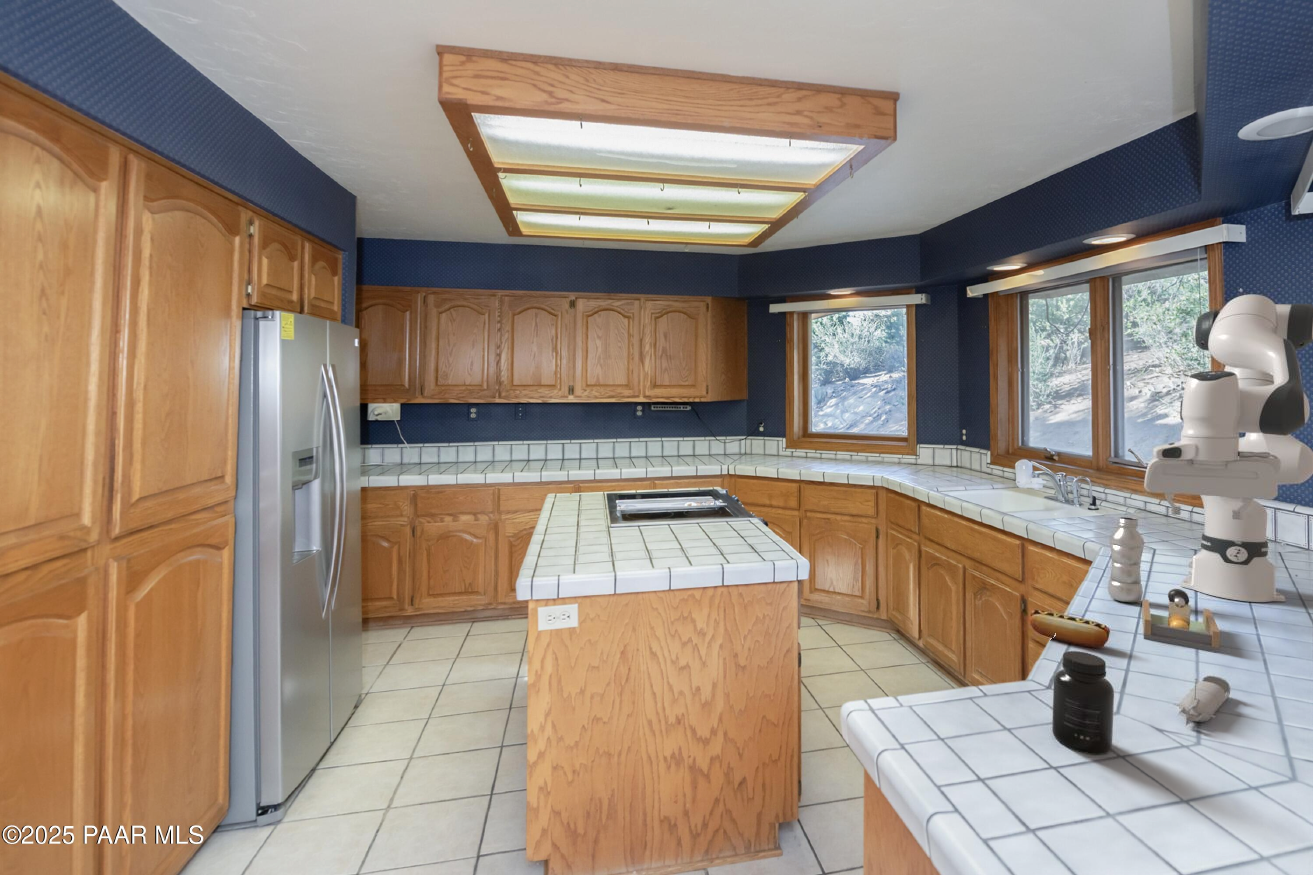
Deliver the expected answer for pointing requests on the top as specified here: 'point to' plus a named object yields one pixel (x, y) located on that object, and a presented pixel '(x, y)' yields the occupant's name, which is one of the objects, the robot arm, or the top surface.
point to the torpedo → (1204, 699)
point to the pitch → (1181, 630)
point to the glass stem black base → (1178, 606)
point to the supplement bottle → (1083, 704)
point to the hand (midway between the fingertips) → (1205, 516)
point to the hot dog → (1069, 628)
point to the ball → (1179, 624)
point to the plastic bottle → (1126, 561)
